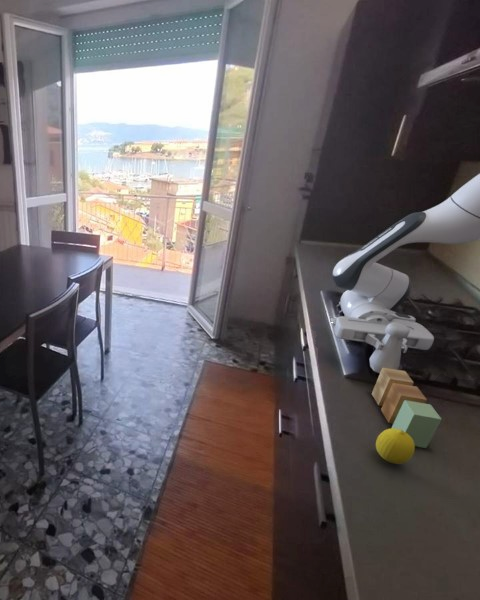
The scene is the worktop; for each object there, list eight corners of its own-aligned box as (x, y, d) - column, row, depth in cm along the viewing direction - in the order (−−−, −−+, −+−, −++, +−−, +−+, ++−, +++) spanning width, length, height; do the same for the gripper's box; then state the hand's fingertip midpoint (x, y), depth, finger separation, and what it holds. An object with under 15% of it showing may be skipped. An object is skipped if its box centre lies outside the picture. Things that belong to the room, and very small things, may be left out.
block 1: (371, 393, 89) (382, 367, 86) (393, 397, 88) (405, 370, 84) (378, 405, 85) (389, 378, 82) (401, 409, 84) (413, 382, 81)
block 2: (380, 409, 84) (392, 382, 81) (404, 413, 83) (417, 386, 79) (388, 423, 80) (401, 395, 77) (412, 427, 79) (427, 399, 75)
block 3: (391, 427, 79) (404, 399, 76) (416, 432, 78) (430, 404, 74) (399, 443, 75) (414, 414, 72) (426, 448, 74) (442, 419, 70)
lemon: (410, 476, 68) (426, 445, 65) (375, 467, 70) (389, 437, 67) (399, 453, 73) (413, 424, 69) (366, 446, 75) (379, 417, 71)
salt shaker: (401, 377, 88) (422, 331, 82) (378, 377, 88) (397, 332, 82) (383, 362, 93) (401, 319, 87) (361, 363, 93) (378, 320, 88)
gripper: (331, 307, 100) (346, 331, 88) (421, 317, 94) (449, 344, 82) (325, 326, 103) (338, 352, 91) (412, 337, 97) (438, 366, 85)
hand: (392, 348), depth 87 cm, fingers closed on salt shaker, 3 cm apart
